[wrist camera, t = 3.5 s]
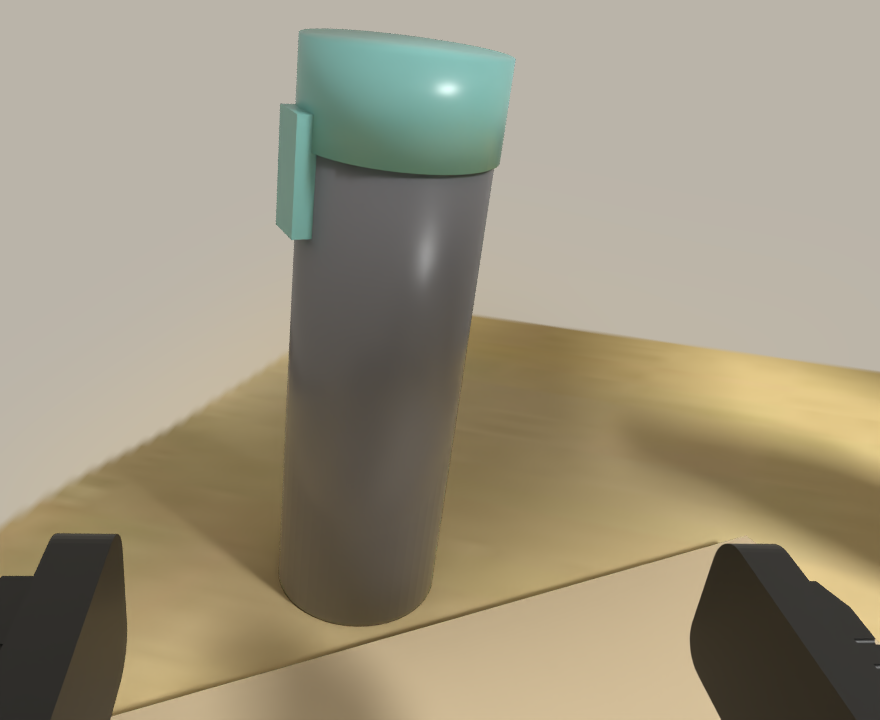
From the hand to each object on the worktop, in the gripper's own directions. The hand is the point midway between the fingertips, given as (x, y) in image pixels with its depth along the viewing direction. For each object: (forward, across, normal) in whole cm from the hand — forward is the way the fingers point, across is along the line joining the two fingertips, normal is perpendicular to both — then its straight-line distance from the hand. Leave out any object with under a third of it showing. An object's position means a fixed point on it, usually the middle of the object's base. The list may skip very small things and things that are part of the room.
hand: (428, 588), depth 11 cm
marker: (+8, 0, +7) cm, 11 cm away
